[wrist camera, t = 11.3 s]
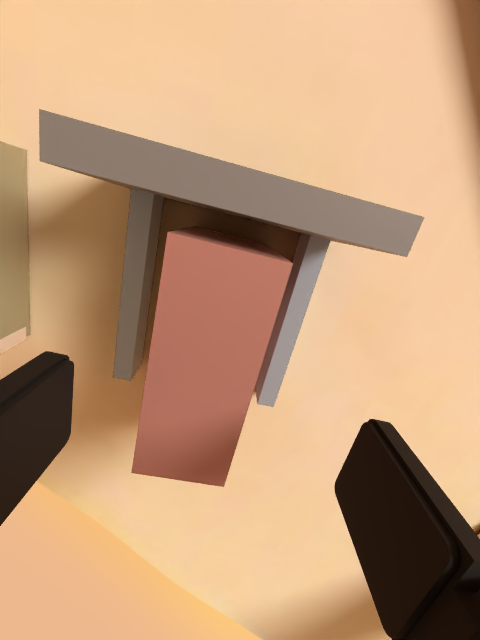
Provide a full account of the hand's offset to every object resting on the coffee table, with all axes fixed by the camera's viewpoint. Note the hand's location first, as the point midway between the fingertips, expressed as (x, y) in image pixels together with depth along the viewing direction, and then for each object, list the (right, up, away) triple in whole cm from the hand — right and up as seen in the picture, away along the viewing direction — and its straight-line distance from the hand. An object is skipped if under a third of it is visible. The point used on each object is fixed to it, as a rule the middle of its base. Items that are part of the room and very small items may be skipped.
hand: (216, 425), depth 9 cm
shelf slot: (-1, +5, +7) cm, 9 cm away
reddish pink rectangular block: (-1, +3, +8) cm, 9 cm away
